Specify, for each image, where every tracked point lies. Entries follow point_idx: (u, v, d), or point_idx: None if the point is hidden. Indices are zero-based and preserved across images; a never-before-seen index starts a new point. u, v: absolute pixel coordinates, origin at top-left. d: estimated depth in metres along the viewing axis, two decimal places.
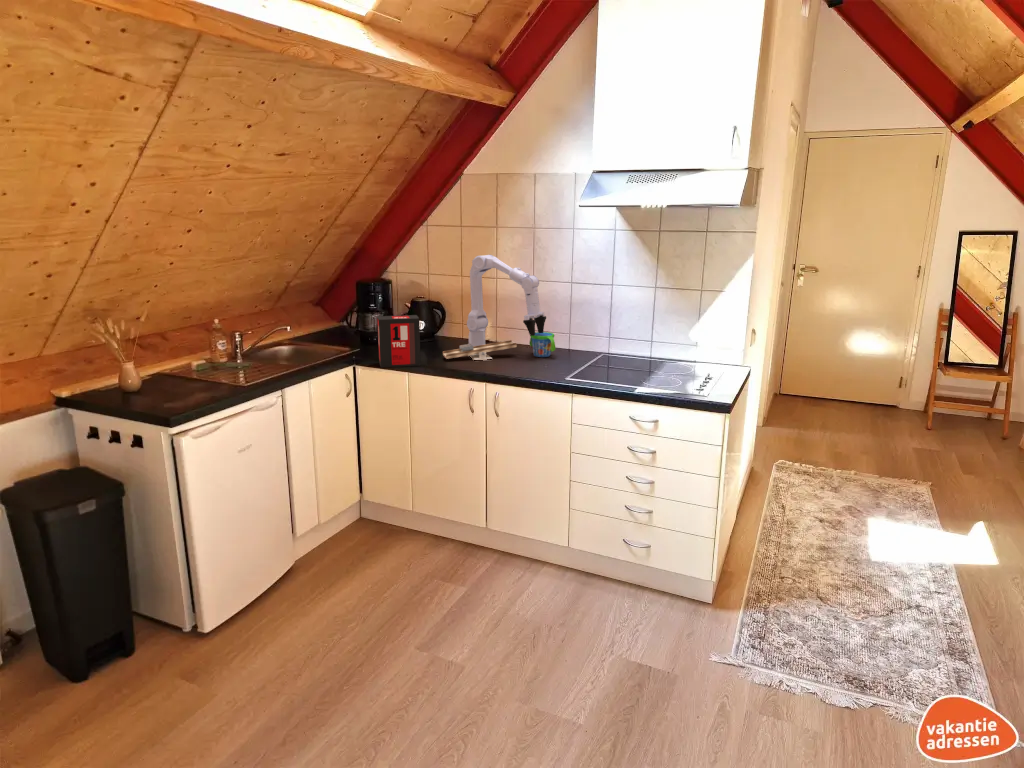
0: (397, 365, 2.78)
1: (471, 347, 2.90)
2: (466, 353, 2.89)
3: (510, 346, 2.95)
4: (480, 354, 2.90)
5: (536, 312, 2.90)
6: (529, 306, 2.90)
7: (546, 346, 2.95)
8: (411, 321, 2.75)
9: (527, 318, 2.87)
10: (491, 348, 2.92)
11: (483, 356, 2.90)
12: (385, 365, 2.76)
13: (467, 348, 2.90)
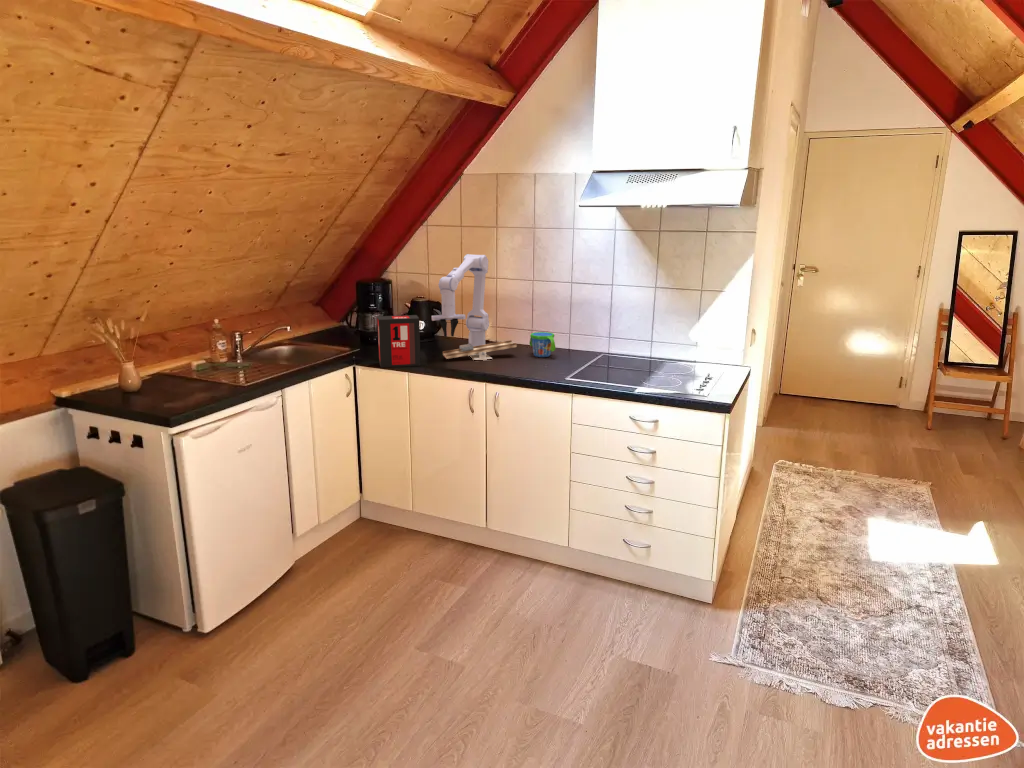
0: (397, 365, 2.78)
1: (471, 347, 2.90)
2: (466, 353, 2.89)
3: (510, 346, 2.95)
4: (480, 354, 2.90)
5: (445, 315, 2.83)
6: None
7: (546, 346, 2.95)
8: (411, 321, 2.75)
9: (432, 319, 2.83)
10: (491, 348, 2.92)
11: (483, 356, 2.90)
12: (385, 365, 2.76)
13: (467, 348, 2.90)
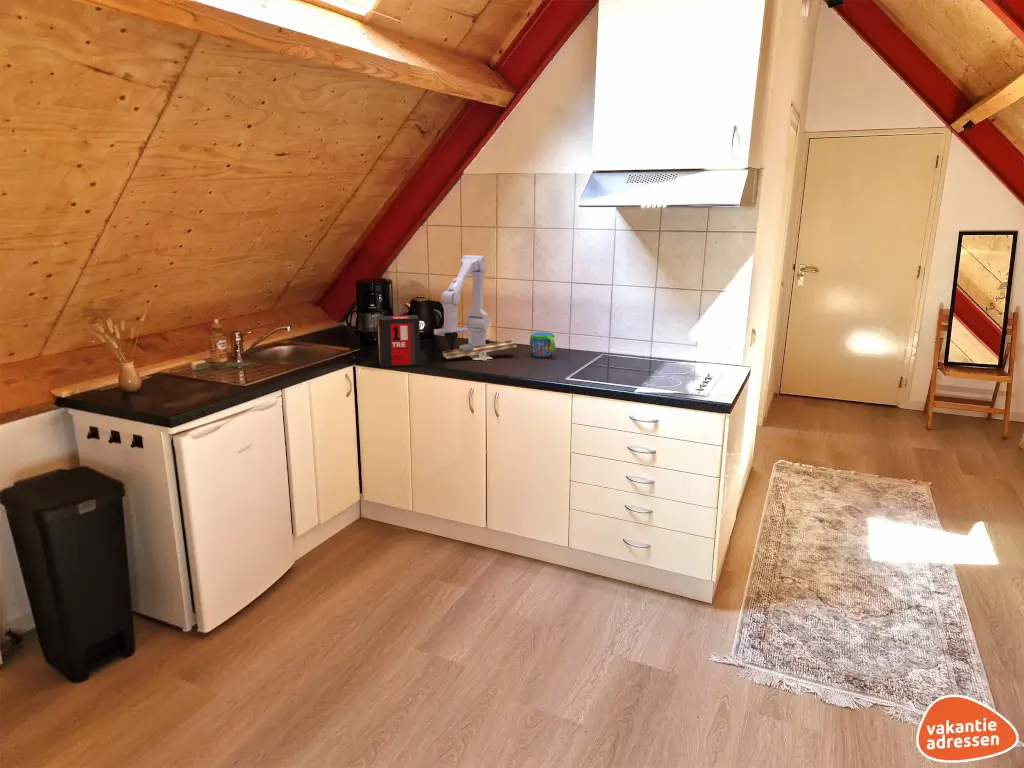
0: (397, 365, 2.78)
1: (471, 347, 2.90)
2: (466, 353, 2.89)
3: (510, 346, 2.95)
4: (480, 354, 2.90)
5: (448, 328, 2.85)
6: (444, 321, 2.86)
7: (546, 346, 2.95)
8: (411, 321, 2.75)
9: (434, 332, 2.85)
10: (491, 348, 2.92)
11: (483, 356, 2.90)
12: (385, 365, 2.76)
13: (467, 348, 2.90)
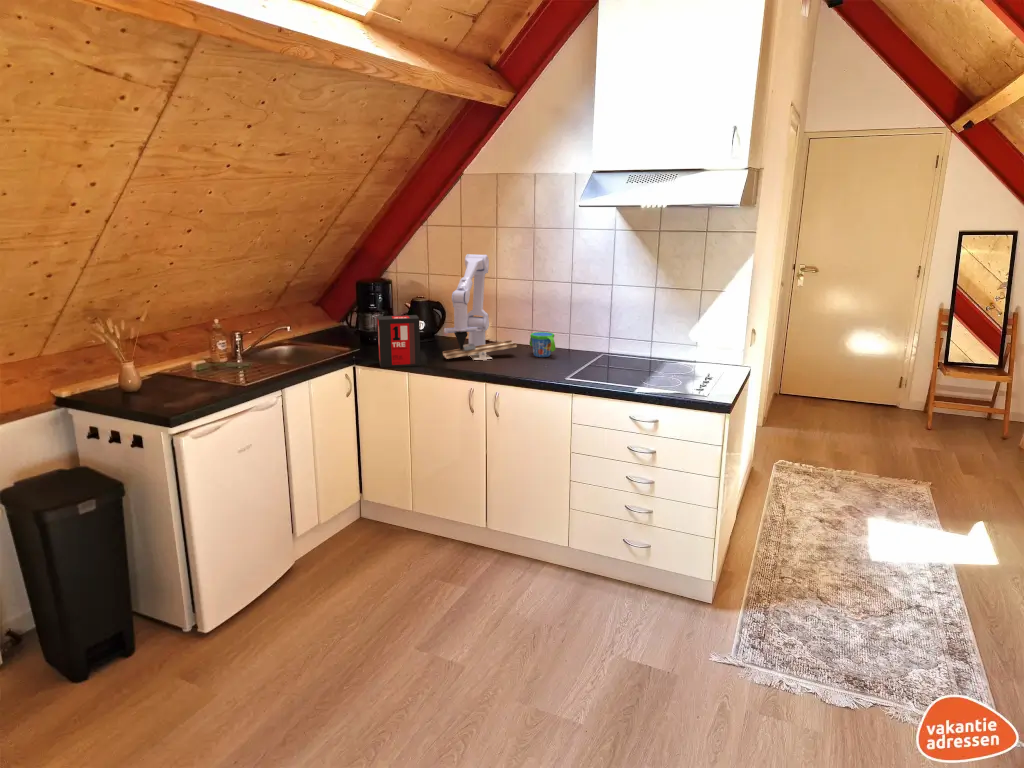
0: (397, 365, 2.78)
1: (473, 347, 2.90)
2: (466, 353, 2.89)
3: (510, 346, 2.95)
4: (480, 354, 2.90)
5: (458, 327, 2.86)
6: (454, 320, 2.87)
7: (546, 346, 2.95)
8: (411, 321, 2.75)
9: (445, 331, 2.87)
10: (491, 348, 2.92)
11: (483, 356, 2.90)
12: (385, 365, 2.76)
13: (469, 347, 2.90)
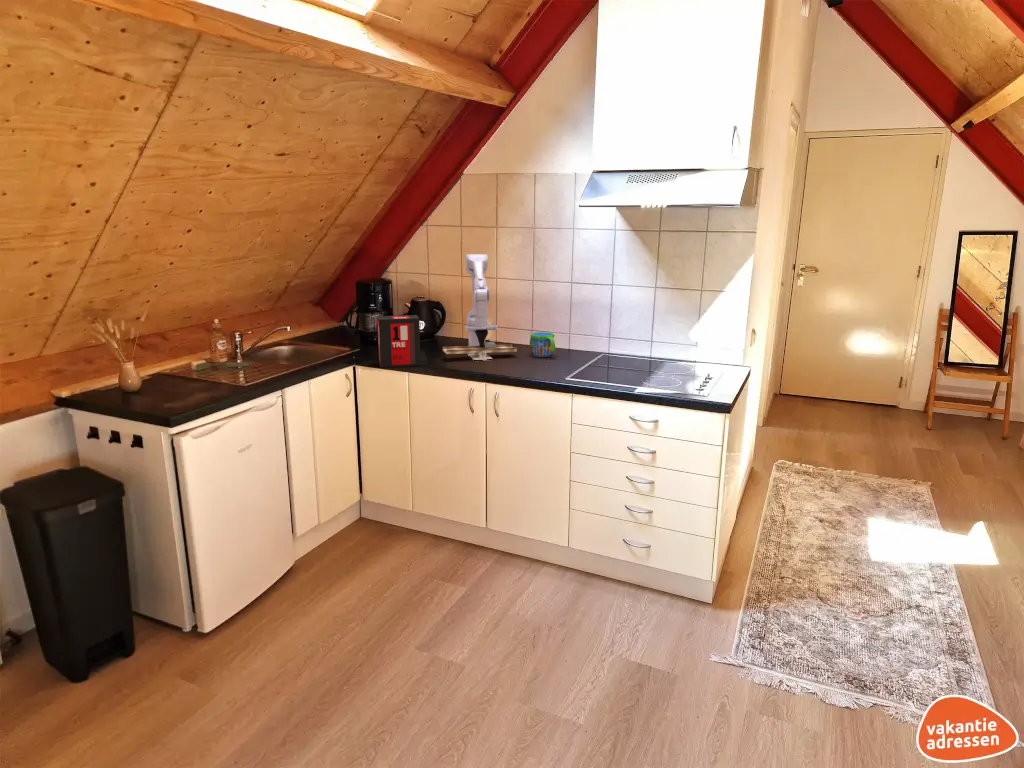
0: (397, 365, 2.78)
1: (494, 345, 2.93)
2: (466, 351, 2.89)
3: (510, 350, 2.95)
4: (480, 354, 2.90)
5: (479, 326, 2.89)
6: (475, 318, 2.90)
7: (546, 346, 2.95)
8: (411, 321, 2.75)
9: (465, 330, 2.89)
10: (491, 349, 2.92)
11: (483, 356, 2.90)
12: (385, 365, 2.76)
13: (490, 345, 2.93)
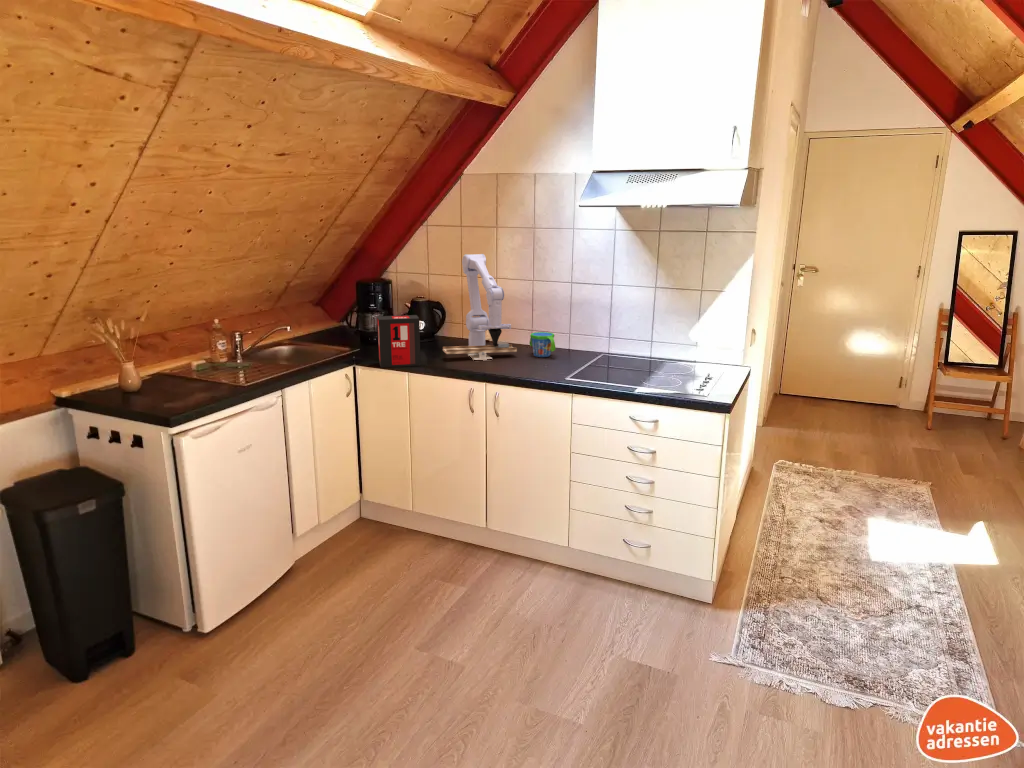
0: (397, 365, 2.78)
1: (507, 345, 2.95)
2: (466, 351, 2.89)
3: (510, 350, 2.95)
4: (480, 354, 2.90)
5: (492, 324, 2.91)
6: None
7: (546, 346, 2.95)
8: (411, 321, 2.75)
9: (479, 328, 2.91)
10: (491, 349, 2.92)
11: (483, 356, 2.90)
12: (385, 365, 2.76)
13: (503, 345, 2.95)
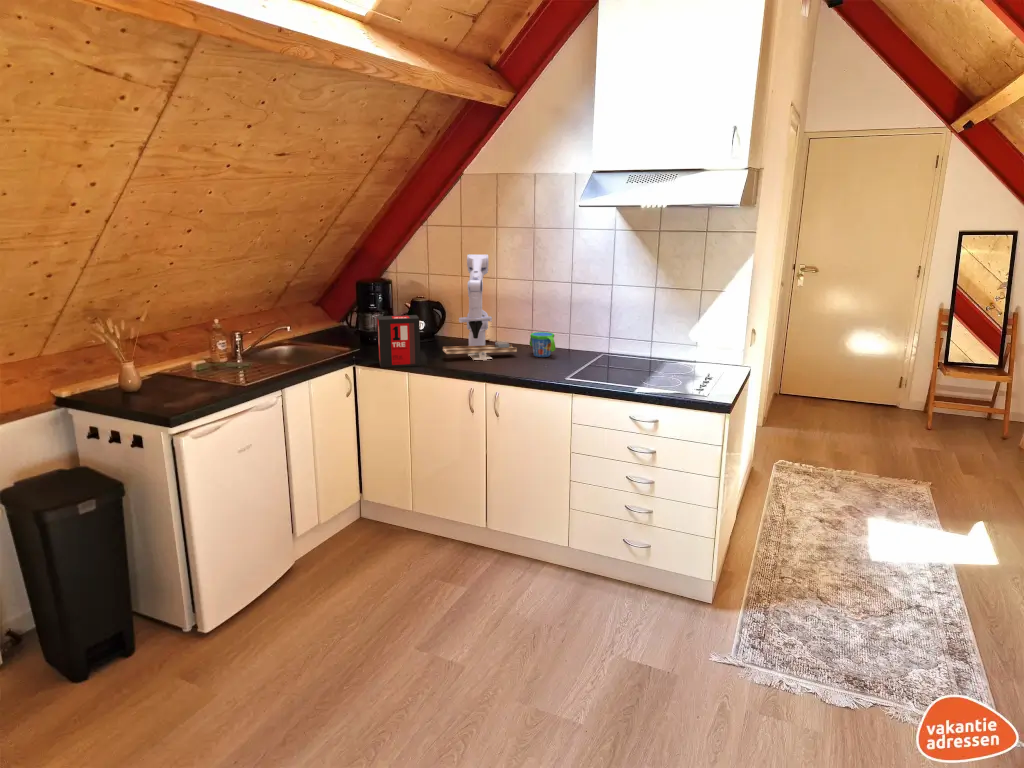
0: (397, 365, 2.78)
1: (507, 345, 2.95)
2: (466, 351, 2.89)
3: (510, 350, 2.95)
4: (480, 354, 2.90)
5: (473, 317, 2.87)
6: (469, 309, 2.88)
7: (546, 346, 2.95)
8: (411, 321, 2.75)
9: (459, 321, 2.88)
10: (491, 349, 2.92)
11: (483, 356, 2.90)
12: (385, 365, 2.76)
13: (503, 345, 2.95)
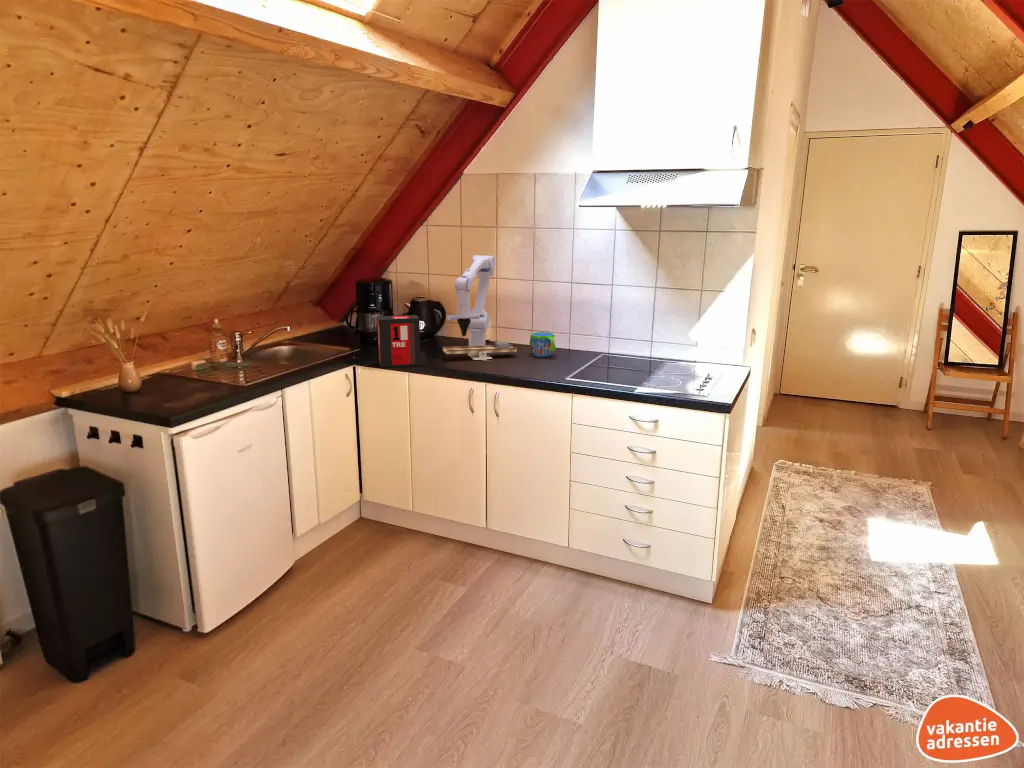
0: (397, 365, 2.78)
1: (507, 345, 2.95)
2: (466, 351, 2.89)
3: (510, 350, 2.95)
4: (480, 354, 2.90)
5: (461, 314, 2.90)
6: (457, 307, 2.92)
7: (546, 346, 2.95)
8: (411, 321, 2.75)
9: (448, 318, 2.91)
10: (491, 349, 2.92)
11: (483, 356, 2.90)
12: (385, 365, 2.76)
13: (503, 345, 2.95)
